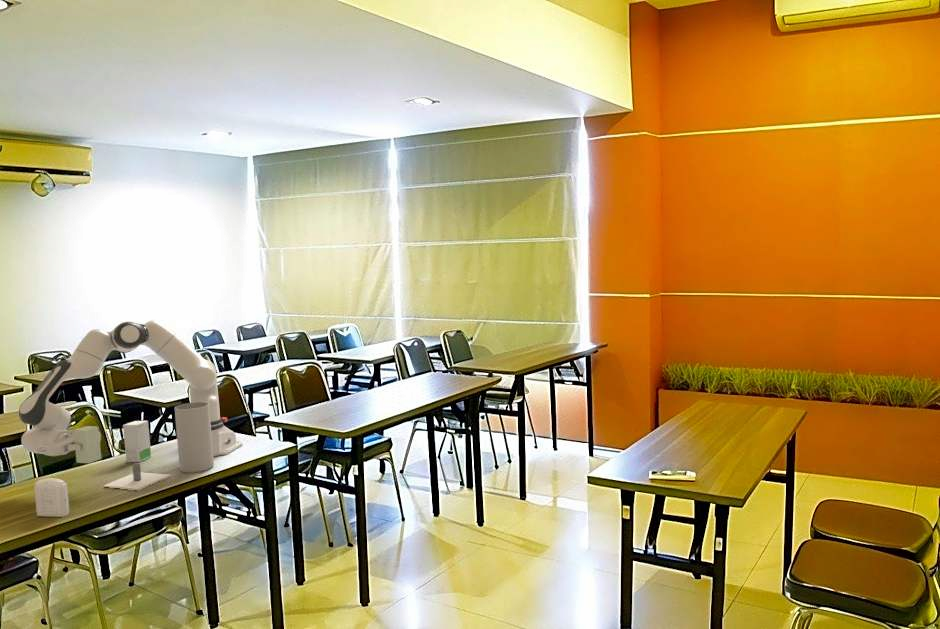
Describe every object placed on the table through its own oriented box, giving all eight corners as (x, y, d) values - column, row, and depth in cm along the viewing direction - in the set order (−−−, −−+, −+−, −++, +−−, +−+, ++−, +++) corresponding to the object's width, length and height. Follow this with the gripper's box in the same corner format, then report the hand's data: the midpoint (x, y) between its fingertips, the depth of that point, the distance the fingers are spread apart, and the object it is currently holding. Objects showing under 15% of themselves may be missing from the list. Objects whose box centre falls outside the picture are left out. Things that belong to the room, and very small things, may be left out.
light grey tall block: (89, 457, 263) (86, 425, 262) (101, 458, 261) (98, 426, 260) (76, 462, 258) (73, 429, 257) (88, 463, 256) (85, 430, 255)
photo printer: (72, 512, 240) (68, 476, 239) (63, 517, 236) (59, 480, 235) (44, 512, 242) (40, 476, 241) (34, 517, 238) (30, 480, 236)
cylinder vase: (174, 474, 278) (169, 410, 275) (187, 464, 290) (182, 402, 288) (207, 472, 278) (201, 408, 275) (218, 463, 290) (213, 401, 288)
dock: (137, 473, 280) (135, 455, 279) (170, 476, 275) (168, 457, 274) (103, 487, 265) (101, 468, 264) (138, 490, 260) (136, 471, 259)
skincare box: (139, 462, 295) (135, 425, 294) (124, 462, 297) (121, 425, 295) (152, 456, 304) (148, 420, 302) (138, 456, 305) (134, 420, 303)
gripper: (33, 441, 254) (63, 443, 249) (82, 426, 273) (111, 428, 268) (35, 459, 254) (65, 461, 249) (84, 443, 273) (112, 444, 269)
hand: (89, 444), depth 259 cm, fingers closed on light grey tall block, 6 cm apart
